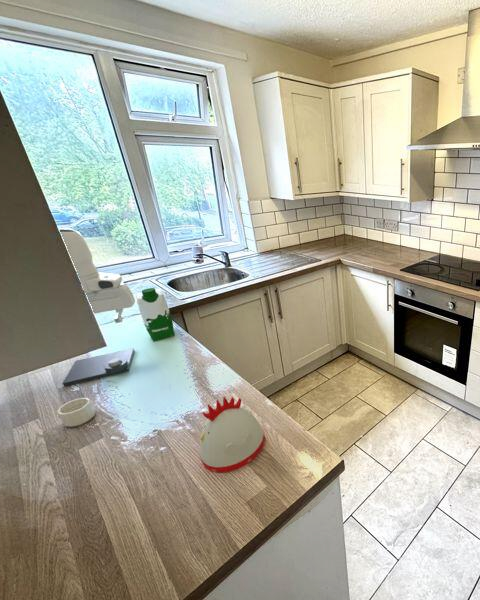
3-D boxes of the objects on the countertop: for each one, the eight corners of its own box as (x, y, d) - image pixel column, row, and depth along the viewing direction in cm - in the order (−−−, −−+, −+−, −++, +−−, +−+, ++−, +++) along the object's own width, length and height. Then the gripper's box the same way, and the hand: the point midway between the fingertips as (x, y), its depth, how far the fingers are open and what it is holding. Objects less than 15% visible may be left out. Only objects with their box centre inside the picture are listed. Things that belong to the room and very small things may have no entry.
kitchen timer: (193, 447, 80) (177, 399, 74) (250, 418, 89) (239, 372, 83) (214, 484, 71) (197, 432, 65) (274, 447, 80) (264, 398, 74)
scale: (63, 388, 100) (59, 380, 99) (76, 364, 112) (73, 356, 110) (128, 372, 107) (125, 365, 106) (134, 351, 119) (132, 344, 118)
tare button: (109, 367, 105) (107, 363, 105) (111, 363, 108) (109, 359, 107) (120, 365, 107) (118, 361, 106) (121, 361, 109) (120, 357, 108)
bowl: (61, 431, 84) (53, 417, 83) (68, 415, 90) (61, 402, 88) (92, 422, 87) (86, 409, 85) (98, 407, 92) (92, 394, 91)
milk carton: (150, 343, 124) (133, 294, 116) (148, 334, 130) (132, 287, 122) (177, 336, 129) (163, 289, 121) (174, 327, 136) (160, 282, 128)
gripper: (27, 294, 87) (50, 338, 93) (123, 280, 96) (138, 322, 102) (37, 286, 92) (58, 329, 98) (127, 274, 101) (141, 314, 107)
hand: (100, 325), depth 100 cm, fingers open, 8 cm apart
